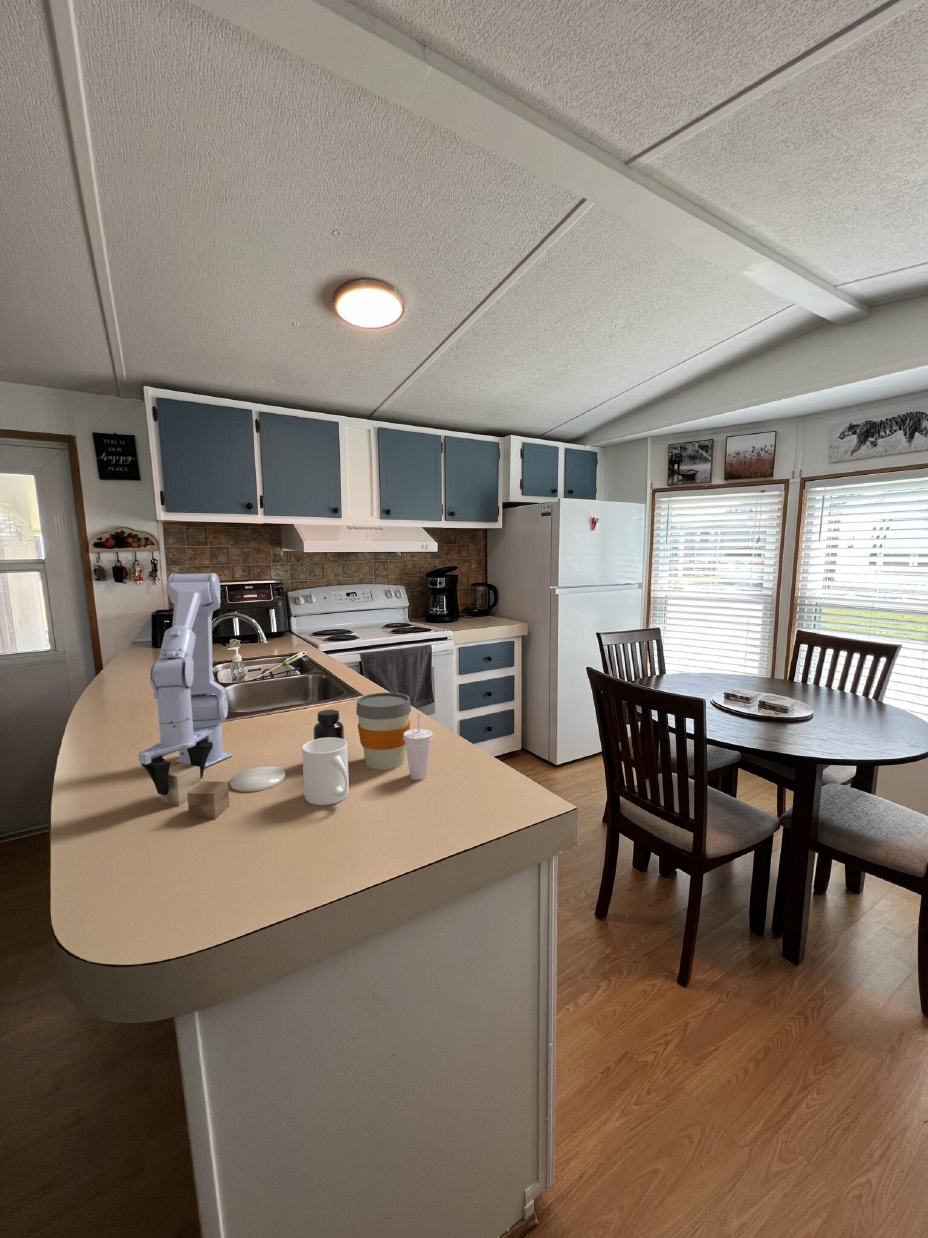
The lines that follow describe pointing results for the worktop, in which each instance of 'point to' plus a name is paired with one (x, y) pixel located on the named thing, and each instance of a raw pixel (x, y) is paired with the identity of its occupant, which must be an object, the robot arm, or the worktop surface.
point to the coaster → (257, 779)
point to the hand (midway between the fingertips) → (180, 785)
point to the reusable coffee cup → (383, 728)
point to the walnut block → (208, 800)
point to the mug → (325, 771)
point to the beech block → (181, 783)
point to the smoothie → (418, 751)
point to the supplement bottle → (328, 725)
